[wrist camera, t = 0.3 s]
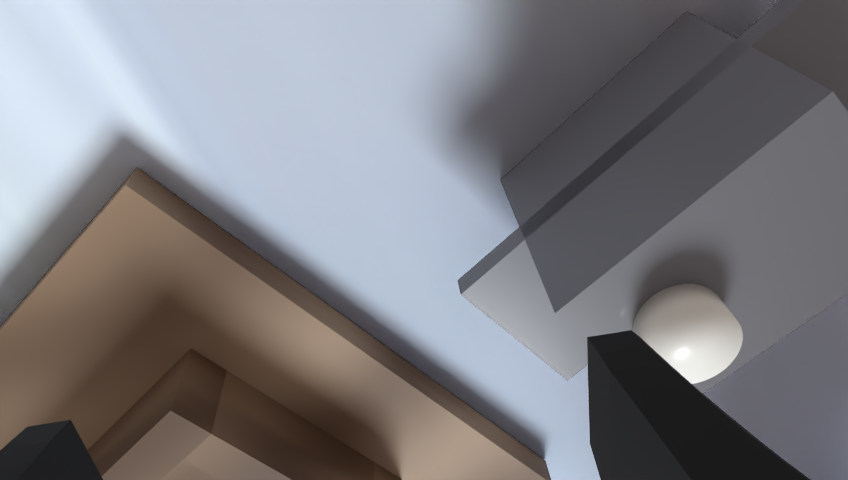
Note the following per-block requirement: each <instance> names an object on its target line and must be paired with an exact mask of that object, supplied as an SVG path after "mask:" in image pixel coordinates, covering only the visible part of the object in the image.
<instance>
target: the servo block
mask: <svg viewBox="0 0 848 480" xmlns="http://www.w3.org/2000/svg"><path fill="white" fill-rule="evenodd" d="M501 183H502V185H503V187H504V190H505V192H506V195H507V197H508V200H509V202H510V205H511V207H512V209H513V212H514V214H515V217H516V219H517V222H518V224H519V228H518V229H517V230H515V231H514V232H513V233H512V234H511V235H510V236H508V237H507V238H506V239H505V240H504V241H503V242H502V243H500V244H499V245H498V246H497V247H496V248H495V249H493V250H492V251H491V252H490V253H489V254H488V255H487V256H485V257H484V258H483V259H482V260H481V261H480V262H478V263H477V264H476V265H475V266H474V267H473V268H472V269H470V270H469V271H468V272H467V273H466V274H465V275H463V276H462V277H461V278H460V279H459V280H458V284H459V289H460V293H461V295H462V296H463V297H464V298H466V299H467V300H468V301H469V302H471V303H472V304H473V305H474V306H476V307H477V308H478V309H479V310H481V311H482V312H483V313H484V314H486V315H487V316H488V317H489V318H491V319H492V320H493V321H494V322H495V323H497V324H498V325H499V326H500V327H502V328H503V329H504V330H505V331H507V332H508V333H509V334H510V335H512V336H513V337H514V338H515V339H517V340H518V341H519V342H520V343H522V344H523V345H524V346H525V347H527V348H528V349H529V350H530V351H531V352H533V353H534V354H535V355H536V356H538V357H539V358H540V359H541V360H543V361H544V362H545V363H546V364H548V365H549V366H550V367H551V368H553V369H554V370H555V371H556V372H558V373H559V374H560V375H561V376H563V377H564V378H565V379H566V380H569V379H570V378H571V377H573V376H574V375H575V374H577V373H578V372H579V371H580V370H582V369H583V368H584V367H586V366H587V365H588V349H587V337H591V336H598V335H604V334H610V333H616V332H623V331H629V330H632V331H633V332H634V333H636V334H637V335H638V336H639V337H641V338H642V339H643V340H644V341H645V342H646V343H647V344H648V345H649V346H650V347H651V348H652V349H654V350H655V351H656V352H657V353H658V354H659V355H660V356H661V357H662V358H663V359H664V360H666V361H667V362H668V363H669V364H670V365H671V366H672V367H673V368H674V369H675V370H677V371H678V372H679V373H680V374H681V375H682V376H683V377H684V378H686V379H687V380H688V381H689V382H690V383H691V384H692V385H693V386H695V387H696V388H697V389H698V390H699V391H700V392H701V393H705V392H706V391H707V390H709V389H710V388H712V387H713V386H715V385H716V384H718V383H719V382H720V381H722V380H723V379H725V378H726V377H728V376H729V375H731V374H732V373H733V372H735V371H736V370H738V369H739V368H741V367H742V366H744V365H745V364H746V363H748V362H749V361H751V360H752V359H754V358H755V357H757V356H758V355H759V354H761V353H762V352H764V351H765V350H767V349H768V348H769V347H771V346H772V345H774V344H775V343H777V342H778V341H780V340H781V339H782V338H784V337H785V336H787V335H788V334H790V333H791V332H793V331H794V330H795V329H797V328H798V327H800V326H801V325H803V324H804V323H806V322H807V321H808V320H810V319H811V318H813V317H814V316H816V315H817V314H818V313H820V312H821V311H823V310H824V309H826V308H827V307H829V306H830V305H831V304H833V303H834V302H836V301H837V300H839V299H840V298H842V297H843V296H844V295H846V294H847V293H848V0H781V1H780V2H779V3H778V4H776V5H775V6H774V7H773V8H772V9H771V10H770V11H768V12H767V13H766V14H765V15H764V16H763V17H761V18H760V19H759V20H758V21H757V22H756V23H755V24H753V25H752V26H751V27H750V28H749V29H748V30H746V31H745V32H744V33H743V34H742V35H741V36H740V37H738V38H737V39H736V38H735V37H733V36H731V35H729V34H727V33H725V32H724V31H722V30H720V29H718V28H716V27H714V26H713V25H711V24H709V23H707V22H705V21H703V20H702V19H700V18H698V17H696V16H694V15H692V14H691V13H689V12H686V13H684V14H683V15H682V16H681V17H680V18H679V19H678V20H677V21H676V22H675V23H673V24H672V25H671V26H670V27H669V28H668V29H667V30H666V31H665V32H663V33H662V34H661V35H660V36H659V37H658V38H657V39H656V40H655V41H653V42H652V43H651V44H650V45H649V46H648V47H647V48H646V49H645V50H644V51H642V52H641V53H640V54H639V55H638V56H637V57H636V58H635V59H634V60H632V61H631V62H630V63H629V64H628V65H627V66H626V67H625V68H624V69H622V70H621V71H620V72H619V73H618V74H617V75H616V76H615V77H614V78H613V79H611V80H610V81H609V82H608V83H607V84H606V85H605V86H604V87H603V88H601V89H600V90H599V91H598V92H597V93H596V94H595V95H594V96H593V97H592V98H590V99H589V100H588V101H587V102H586V103H585V104H584V105H583V106H582V107H580V108H579V109H578V110H577V111H576V112H575V113H574V114H573V115H572V116H570V117H569V118H568V119H567V120H566V121H565V122H564V123H563V124H562V125H561V126H559V127H558V128H557V129H556V130H555V131H554V132H553V133H552V134H551V135H549V136H548V137H547V138H546V139H545V140H544V141H543V142H542V143H541V144H539V145H538V146H537V147H536V148H535V149H534V150H533V151H532V152H531V153H530V154H528V155H527V156H526V157H525V158H524V159H523V160H522V161H521V162H520V163H518V164H517V165H516V166H515V167H514V168H513V169H512V170H511V171H510V172H509V173H507V174H506V175H505V176H504V177H503V178H502V179H501Z"/></svg>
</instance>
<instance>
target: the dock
mask: <svg viewBox="0 0 848 480" xmlns="http://www.w3.org/2000/svg"><path fill="white" fill-rule="evenodd" d="M66 420H71V421H72V423H73V425H74V427H75V428H76V430H77V432H78V434H79V436H80V438H81V440H82V441H83V443H84V445H85V447H86V449H87V451H88V452H89V454H90V456H91V458H92V460H93V462H94V464H95V465H96V467H97V469H98V471H99V473H100V475H101V477H102V478H103V480H551V478H550V475H549V471H548V468H547V465H546V461H545V460H544V459H542V458H541V457H539V456H538V455H537V454H535V453H534V452H532V451H531V450H530V449H528V448H527V447H525V446H524V445H523V444H521V443H520V442H519V441H517V440H516V439H514V438H513V437H512V436H510V435H509V434H507V433H506V432H505V431H503V430H502V429H500V428H499V427H498V426H496V425H495V424H493V423H492V422H491V421H489V420H488V419H486V418H485V417H484V416H482V415H481V414H480V413H478V412H477V411H475V410H474V409H473V408H471V407H470V406H468V405H467V404H466V403H464V402H463V401H461V400H460V399H459V398H457V397H456V396H454V395H453V394H452V393H450V392H449V391H447V390H446V389H445V388H443V387H442V386H440V385H439V384H438V383H436V382H435V381H434V380H432V379H431V378H429V377H428V376H427V375H425V374H424V373H422V372H421V371H420V370H418V369H417V368H415V367H414V366H413V365H411V364H410V363H408V362H407V361H406V360H404V359H403V358H401V357H400V356H399V355H397V354H396V353H395V352H393V351H392V350H390V349H389V348H388V347H386V346H385V345H383V344H382V343H381V342H379V341H378V340H376V339H375V338H374V337H372V336H371V335H369V334H368V333H367V332H365V331H364V330H362V329H361V328H360V327H358V326H357V325H356V324H354V323H353V322H351V321H350V320H349V319H347V318H346V317H344V316H343V315H342V314H340V313H339V312H337V311H336V310H335V309H333V308H332V307H330V306H329V305H328V304H326V303H325V302H323V301H322V300H321V299H319V298H318V297H317V296H315V295H314V294H312V293H311V292H310V291H308V290H307V289H305V288H304V287H303V286H301V285H300V284H298V283H297V282H296V281H294V280H293V279H291V278H290V277H289V276H287V275H286V274H284V273H283V272H282V271H280V270H279V269H278V268H276V267H275V266H273V265H272V264H271V263H269V262H268V261H266V260H265V259H264V258H262V257H261V256H259V255H258V254H257V253H255V252H254V251H252V250H251V249H250V248H248V247H247V246H245V245H244V244H243V243H241V242H240V241H239V240H237V239H236V238H234V237H233V236H232V235H230V234H229V233H227V232H226V231H225V230H223V229H222V228H220V227H219V226H218V225H216V224H215V223H213V222H212V221H211V220H209V219H208V218H206V217H205V216H204V215H202V214H201V213H200V212H198V211H197V210H195V209H194V208H193V207H191V206H190V205H188V204H187V203H186V202H184V201H183V200H181V199H180V198H179V197H177V196H176V195H174V194H173V193H172V192H170V191H169V190H167V189H166V188H165V187H163V186H162V185H161V184H159V183H158V182H156V181H155V180H154V179H152V178H151V177H149V176H148V175H147V174H145V173H144V172H142V171H141V170H140V169H138V168H136V170H135V171H134V172H133V173H132V174H131V175H130V176H129V178H128V179H127V180H126V181H125V182H124V183H123V185H122V186H121V187H120V188H119V189H118V190H117V192H116V193H115V194H114V195H113V196H112V197H111V199H110V200H109V201H108V202H107V203H106V204H105V205H104V207H103V208H102V209H101V210H100V211H99V212H98V214H97V215H96V216H95V217H94V218H93V219H92V221H91V222H90V223H89V224H88V225H87V226H86V227H85V229H84V230H83V231H82V232H81V233H80V234H79V236H78V237H77V238H76V239H75V240H74V241H73V243H72V244H71V245H70V246H69V247H68V248H67V250H66V251H65V252H64V253H63V254H62V255H61V257H60V258H59V259H58V260H57V261H56V262H55V263H54V265H53V266H52V267H51V268H50V269H49V270H48V272H47V273H46V274H45V275H44V276H43V277H42V279H41V280H40V281H39V282H38V283H37V284H36V285H35V287H34V288H33V289H32V290H31V291H30V292H29V294H28V295H27V296H26V297H25V298H24V299H23V301H22V302H21V303H20V304H19V305H18V306H17V308H16V309H15V310H14V311H13V312H12V313H11V314H10V316H9V317H8V318H7V319H6V320H5V321H4V323H3V324H2V325H1V326H0V450H1V449H2V448H3V447H5V446H6V445H7V444H8V443H9V442H10V441H11V440H12V439H14V438H15V437H16V436H17V435H18V434H19V433H21V432H22V431H23V430H24V429H25V428H26V427H28V426H34V425H41V424H47V423H53V422H59V421H66Z"/></svg>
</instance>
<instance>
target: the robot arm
mask: <svg viewBox="0 0 848 480" xmlns="http://www.w3.org/2000/svg"><path fill="white" fill-rule="evenodd" d="M587 349H588V386H589V423H590V445H591V448H592V451H593V455H594V458H595V461H596V465H597V468H598V471H599V475H600V478H601V480H810V479H809V478H807V477H806V476H805V475H803V474H802V473H801V472H799V471H798V470H797V469H795V468H794V467H793V466H791V465H790V464H789V463H787V462H786V461H785V460H783V459H782V458H781V457H780V456H778V455H777V454H776V453H774V452H773V451H772V450H771V449H769V448H768V447H767V446H765V445H764V444H763V443H762V442H760V441H759V440H758V439H757V438H755V437H754V436H753V435H752V434H751V433H749V432H748V431H747V430H746V429H744V428H743V427H742V426H741V425H740V424H738V423H737V422H736V421H735V420H733V419H732V418H731V417H730V416H729V415H727V414H726V413H725V412H724V411H722V410H721V409H720V408H719V407H718V406H717V405H715V404H714V403H713V402H712V401H711V400H710V399H708V398H707V397H706V396H705V395H704V394H703V393H701V392H700V391H699V390H698V389H697V388H696V387H695V386H693V385H692V384H691V383H690V382H689V381H688V380H687V379H686V378H684V377H683V376H682V375H681V374H680V373H679V372H678V371H677V370H675V369H674V368H673V367H672V366H671V365H670V364H669V363H668V362H667V361H666V360H664V359H663V358H662V357H661V356H660V355H659V354H658V353H657V352H656V351H655V350H654V349H652V348H651V347H650V346H649V345H648V344H647V343H646V342H645V341H644V340H643V339H642V338H641V337H639V336H638V335H637V334H636V333H634V332H633V331H632V330H629V331H623V332H616V333H610V334H604V335H598V336H591V337H587ZM0 480H103V478H102V477H101V475H100V473H99V471H98V469H97V467H96V465H95V464H94V462H93V460H92V458H91V456H90V454H89V452H88V451H87V449H86V447H85V445H84V443H83V441H82V440H81V438H80V436H79V434H78V432H77V430H76V428H75V427H74V425H73V423H72V421H71V420H66V421H59V422H53V423H47V424H41V425H34V426H28V427H26V428H25V429H24V430H23V431H22V432H21V433H19V434H18V435H17V436H16V437H15V438H14V439H12V440H11V441H10V442H9V443H8V444H7V445H6V446H5V447H3V448H2V449H1V450H0Z"/></svg>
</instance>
